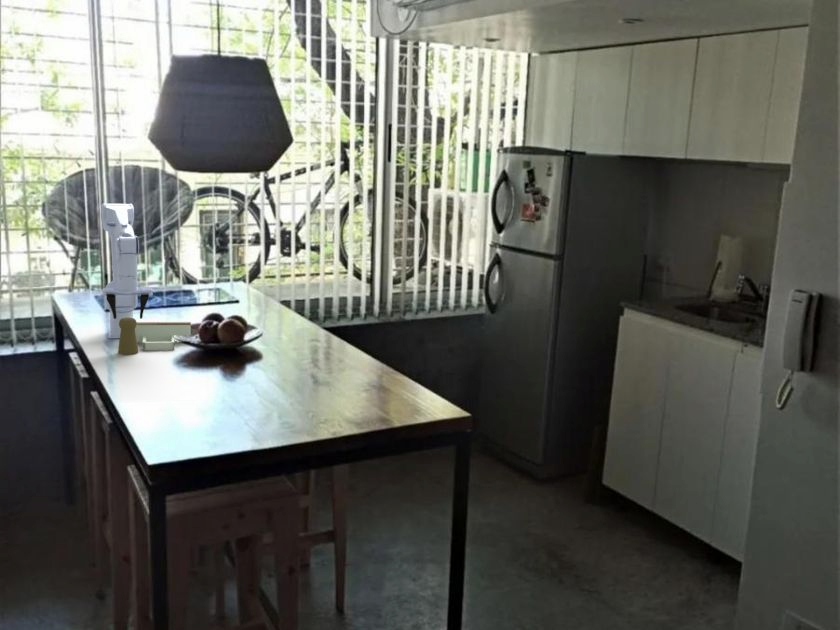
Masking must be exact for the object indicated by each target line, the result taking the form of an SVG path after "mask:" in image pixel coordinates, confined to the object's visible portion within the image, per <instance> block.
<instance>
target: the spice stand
mask: <svg viewBox="0 0 840 630" xmlns="http://www.w3.org/2000/svg"><path fill="white" fill-rule="evenodd" d="M136 322H137V325H136V328H135V333H136V340H137V344H139V343H140V344H142V351H173V350H174V351H175V343H178V342H177V341H175V340H174V335H192V334H191V332H192V329H191V327H192V326H191V325H192V324H191V321H156V322H155V321H153V322H152V321H148V322H147V321H141V322H140V321H136Z"/></svg>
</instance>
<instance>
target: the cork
mask: <svg viewBox="0 0 840 630" xmlns="http://www.w3.org/2000/svg"><path fill="white" fill-rule="evenodd" d="M137 322H138V321H137V320H136V319H135V318H134V317H133V318H122V319H120V321H119V327H120V328H121V332H120V338H119V342H118V347H117V348H118V349H117V353H118V354H119V355H121V354H122V356H133V355H137V354H138V353H139V347H138V343H137V340H136V333H135V328H136V325H137Z"/></svg>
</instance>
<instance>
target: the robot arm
mask: <svg viewBox="0 0 840 630" xmlns="http://www.w3.org/2000/svg"><path fill="white" fill-rule="evenodd" d="M100 211H101V212H100V214H101V226H102V229H103V230H104V231H106V232H108V234H109V235H108V236H109V238H110V247H111V265H112V266H111V267H112V281H110V282H109V283H107V284H106V286H105V288H102V297H104V304H105V308H106V309H107V310H109V333H108V336H107V338H108V339H120V332H121V328H120V327H119V321H120V319H122V318H134V312H135V309H136V308H138V305H140V308H139V309H140V311H139V319H143V316H144V310H145V307H146V305H147V303H148V301H149V299H150V297H152V296H153V288H144V287H138V255H139V251H140V241H139V237H138V236H137V235H136V234H135V231H134V228H133V226H134V221H135V208H134V205H133V203H105V202H102V204H101V209H100ZM138 296H140V298H139V300H138ZM138 301H139V302H140V304H138Z"/></svg>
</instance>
